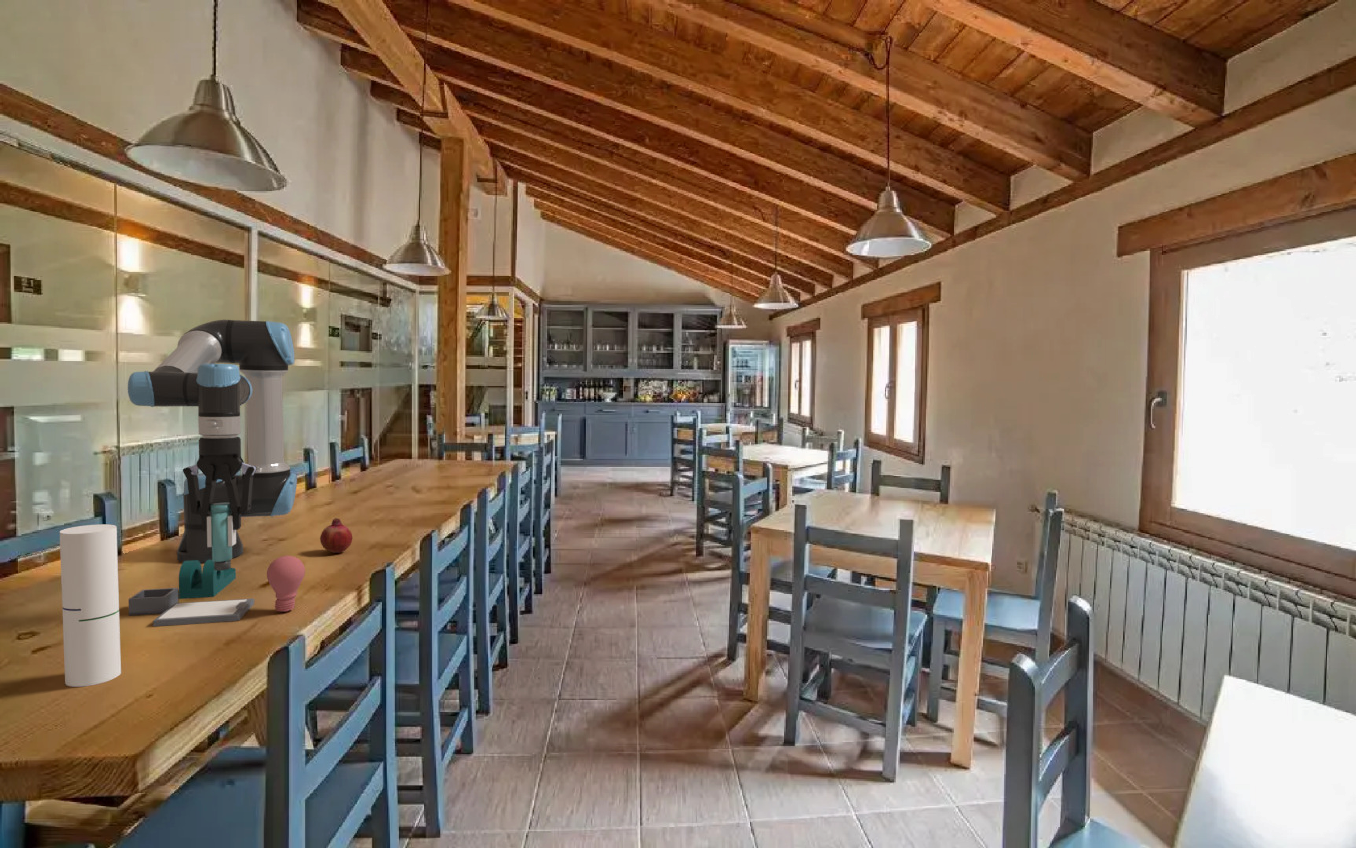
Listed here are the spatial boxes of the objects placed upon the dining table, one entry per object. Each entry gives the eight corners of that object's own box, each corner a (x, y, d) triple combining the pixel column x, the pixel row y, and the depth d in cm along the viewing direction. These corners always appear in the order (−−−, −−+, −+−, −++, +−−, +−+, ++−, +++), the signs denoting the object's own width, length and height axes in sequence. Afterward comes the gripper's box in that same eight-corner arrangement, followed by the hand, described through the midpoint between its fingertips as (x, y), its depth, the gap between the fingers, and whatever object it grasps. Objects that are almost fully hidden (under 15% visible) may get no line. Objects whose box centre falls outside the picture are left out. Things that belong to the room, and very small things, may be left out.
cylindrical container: (86, 668, 120) (81, 524, 118) (131, 668, 120) (126, 524, 119) (53, 687, 113) (47, 533, 111) (100, 686, 113) (95, 534, 112)
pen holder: (143, 605, 152) (142, 589, 152) (178, 603, 154) (178, 587, 154) (128, 615, 146) (128, 599, 145) (166, 613, 148) (165, 597, 147)
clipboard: (175, 608, 150) (174, 600, 150) (254, 603, 155) (254, 595, 155) (153, 626, 140) (152, 617, 140) (238, 620, 144) (238, 612, 144)
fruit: (347, 548, 205) (346, 514, 204) (356, 553, 199) (356, 519, 198) (317, 552, 199) (316, 517, 199) (325, 558, 193) (325, 522, 193)
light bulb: (313, 608, 153) (312, 554, 152) (285, 618, 146) (284, 562, 145) (288, 604, 155) (287, 550, 154) (259, 614, 148) (258, 558, 147)
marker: (215, 566, 152) (214, 503, 151) (235, 565, 153) (234, 502, 152) (209, 571, 149) (207, 506, 148) (229, 570, 150) (228, 505, 149)
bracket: (213, 597, 159) (212, 563, 158) (179, 599, 157) (178, 565, 156) (239, 575, 176) (239, 544, 176) (208, 577, 174) (208, 546, 174)
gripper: (168, 437, 143) (170, 551, 145) (257, 437, 148) (259, 547, 149) (182, 435, 150) (184, 543, 152) (267, 434, 155) (269, 539, 157)
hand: (221, 545), depth 151 cm, fingers closed on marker, 3 cm apart
